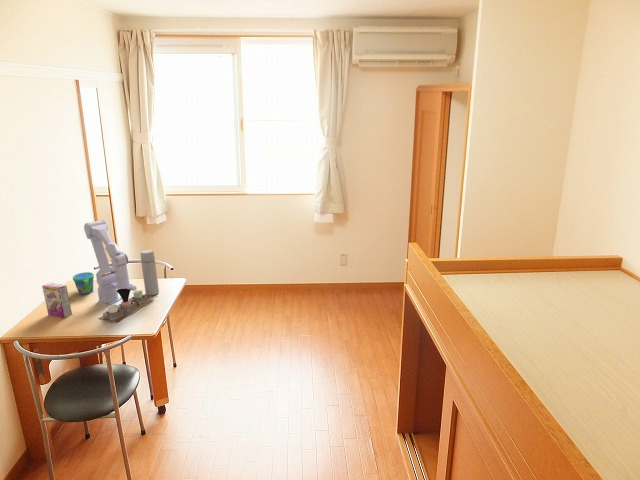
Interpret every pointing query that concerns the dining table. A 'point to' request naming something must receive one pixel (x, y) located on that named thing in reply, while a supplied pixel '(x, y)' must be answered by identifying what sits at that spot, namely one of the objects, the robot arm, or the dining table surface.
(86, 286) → the snack cup
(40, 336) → the dining table surface
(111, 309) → the cream button
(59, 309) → the candy bar box
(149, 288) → the water bottle
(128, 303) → the terracotta button
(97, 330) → the dining table surface
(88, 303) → the dining table surface
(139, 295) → the sage button
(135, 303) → the button board
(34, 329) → the dining table surface
